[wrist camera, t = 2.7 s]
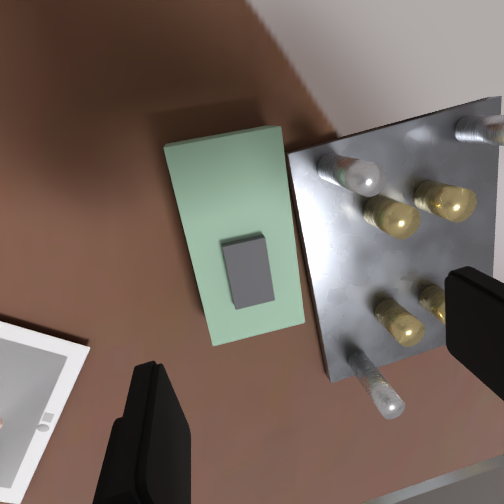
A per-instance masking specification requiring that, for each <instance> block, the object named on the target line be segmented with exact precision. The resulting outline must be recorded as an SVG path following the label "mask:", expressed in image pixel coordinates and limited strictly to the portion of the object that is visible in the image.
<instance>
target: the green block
mask: <svg viewBox="0 0 504 504" xmlns="http://www.w3.org/2000/svg"><path fill="white" fill-rule="evenodd" d="M163 148H164V152H165V156H166V160H167V164H168V168H169V172H170V176H171V180H172V184H173V188H174V192H175V196H176V200H177V204H178V208H179V212H180V216H181V220H182V224H183V228H184V232H185V236H186V240H187V244H188V248H189V252H190V256H191V260H192V264H193V268H194V272H195V276H196V280H197V284H198V288H199V292H200V296H201V300H202V304H203V308H204V312H205V316H206V320H207V324H208V328H209V332H210V336H211V340H212V344H213V346H216V345H220V344H224V343H228V342H232V341H236V340H239V339H243V338H247V337H251V336H255V335H259V334H263V333H267V332H271V331H275V330H278V329H282V328H286V327H290V326H294V325H298V324H302V323H305V319H304V311H303V302H302V294H301V286H300V278H299V269H298V261H297V253H296V245H295V236H294V228H293V220H292V212H291V203H290V195H289V187H288V179H287V171H286V162H285V154H284V146H283V138H282V129H281V126H268V125H267V126H261V127H256V128H250V129H245V130H239V131H234V132H228V133H223V134H217V135H212V136H206V137H201V138H195V139H190V140H184V141H179V142H173V143H168V144H165V146H164V147H163Z"/></svg>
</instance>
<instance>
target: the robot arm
mask: <svg viewBox="0 0 504 504" xmlns="http://www.w3.org/2000/svg"><path fill="white" fill-rule="evenodd" d="M444 287H445V328H446V346H447V348H448V350H449V352H450V353H451V354H452V355H453V356H454V357H455V358H456V359H457V360H458V361H459V362H461V363H462V364H463V365H464V366H465V367H466V368H467V369H468V370H470V371H471V372H472V373H473V374H474V375H475V376H476V377H477V378H479V379H480V380H481V381H482V382H483V383H484V384H485V385H486V386H488V387H489V388H490V389H491V390H492V391H493V392H494V393H495V394H497V395H498V396H499V397H500V398H501V399H502V400H503V401H504V283H502V282H500V281H498V280H496V279H494V278H492V277H490V276H489V275H487V274H485V273H483V272H481V271H479V270H477V269H475V268H473V267H470V266H465V267H462V268H459V269H455V270H452V271H450V272H449V273H448V277H446V278H445V281H444ZM92 504H191V433H190V428H189V425H188V422H187V420H186V418H185V415H184V413H183V411H182V408H181V406H180V404H179V401H178V399H177V396H176V394H175V392H174V389H173V387H172V385H171V382H170V380H169V378H168V375H167V373H166V370H165V368H164V366H163V364H162V363H160V364H156V362H155V361H150V362H147V363H144V364H140V365H137V366H135V368H134V371H133V375H132V379H131V384H130V388H129V392H128V396H127V401H126V405H125V409H124V413H123V417H121V418H117V419H116V420H115V421H114V424H113V426H112V430H111V434H110V438H109V442H108V446H107V449H106V453H105V457H104V461H103V465H102V469H101V472H100V476H99V480H98V484H97V488H96V492H95V495H94V499H93V503H92ZM360 504H504V454H503V455H500V456H497V457H494V458H491V459H488V460H485V461H482V462H479V463H476V464H473V465H471V466H468V467H465V468H462V469H459V470H456V471H453V472H450V473H447V474H444V475H441V476H438V477H436V478H433V479H430V480H427V481H424V482H421V483H418V484H415V485H412V486H409V487H406V488H404V489H401V490H398V491H395V492H392V493H389V494H386V495H383V496H380V497H377V498H375V499H372V500H369V501H366V502H363V503H360Z"/></svg>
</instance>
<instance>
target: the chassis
mask: <svg viewBox="0 0 504 504" xmlns="http://www.w3.org/2000/svg"><path fill="white" fill-rule="evenodd" d="M499 145H503V146H504V115H501V96H498V97H497V96H496V97H487V98H483V99H480V100H476V101H472V102H469V103H465V104H461V105H457V106H454V107H450V108H446V109H443V110H439V111H435V112H432V113H428V114H424V115H421V116H417V117H413V118H410V119H406V120H402V121H399V122H395V123H391V124H387V125H384V126H380V127H377V128H373V129H369V130H365V131H362V132H358V133H354V134H351V135H347V136H343V137H340V138H336V139H332V140H328V141H325V142H321V143H317V144H314V145H310V146H306V147H303V148H299V149H295V150H292V151H288V152H284V154H285V162H286V168H287V173H288V178H289V184H290V189H291V194H292V199H293V205H294V210H295V215H296V220H297V225H298V231H299V236H300V241H301V246H302V251H303V257H304V262H305V267H306V272H307V277H308V283H309V288H310V293H311V298H312V303H313V309H314V314H315V319H316V324H317V329H318V335H319V340H320V345H321V350H322V355H323V361H324V366H325V371H326V375H327V377H328V379H329V380H330V382H331V383H333V382H336V381H339V380H342V379H345V378H348V377H351V376H354V375H355V376H356V377H357V379H358V380H359V381H360V383H361V384H362V386H363V387H364V389H365V390H366V392H367V393H368V395H369V396H370V398H371V399H372V401H373V402H374V404H375V405H376V406H377V408H378V409H379V411H380V412H381V414H382V415H383V417H384V418H386V419H394V418H396V417H398V416H399V415H401V414H402V412H403V411H404V409H405V404H404V402H403V401H402V400H401V398H400V397H399V396H398V394H397V393H396V392H395V391H394V389H393V388H392V387H391V386H390V384H389V383H388V382H387V380H386V379H385V378H384V377H383V375H382V374H381V373H380V372H379V370H378V369H377V368H378V367H381V366H384V365H387V364H390V363H392V362H395V361H398V360H401V359H404V358H407V357H410V356H413V355H416V354H419V353H422V352H425V351H428V350H431V349H434V348H437V347H440V346H443V345H446V328H445V287H444V281H445V278H446V277H448V273H449V272H450V271H452V270H455V269H459V268H462V267H465V266H470V267H473V268H475V269H477V270H479V271H481V272H483V273H485V274H487V275H489V276H490V277H492V278H493V261H494V259H493V258H494V240H495V218H496V199H497V179H498V158H499Z"/></svg>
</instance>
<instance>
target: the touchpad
mask: <svg viewBox="0 0 504 504" xmlns="http://www.w3.org/2000/svg"><path fill="white" fill-rule="evenodd" d="M90 348H91V347H88V346H84V345H81V344H77V343H74V342H70V341H67V340H63V339H60V338H57V337H53V336H50V335H46V334H43V333H39V332H36V331H33V330H29V329H26V328H22V327H19V326H15V325H12V324H9V323H5V322H2V321H0V502H8V503H15V504H20V503H21V501H22V498H23V496H24V494H25V492H26V490H27V487H28V485H29V483H30V481H31V478H32V476H33V474H34V472H35V470H36V467H37V465H38V463H39V461H40V459H41V456H42V454H43V452H44V450H45V447H46V445H47V443H48V441H49V439H50V436H51V434H52V432H53V430H54V427H55V425H56V423H57V421H58V419H59V416H60V414H61V412H62V410H63V408H64V405H65V403H66V401H67V399H68V396H69V394H70V392H71V390H72V388H73V385H74V383H75V381H76V379H77V377H78V374H79V372H80V370H81V368H82V365H83V363H84V361H85V359H86V357H87V354H88V352H89V350H90Z"/></svg>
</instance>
